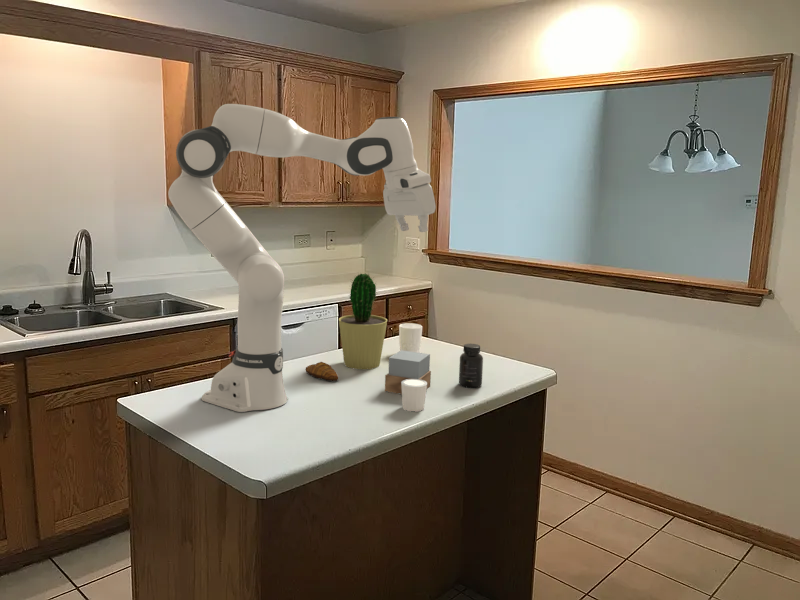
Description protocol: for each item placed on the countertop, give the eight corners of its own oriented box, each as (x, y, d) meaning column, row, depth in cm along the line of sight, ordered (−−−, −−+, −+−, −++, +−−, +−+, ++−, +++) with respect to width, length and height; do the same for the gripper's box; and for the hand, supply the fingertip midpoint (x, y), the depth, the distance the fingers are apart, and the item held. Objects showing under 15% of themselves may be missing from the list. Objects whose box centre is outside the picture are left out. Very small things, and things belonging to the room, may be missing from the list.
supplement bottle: (459, 380, 196) (461, 341, 194) (482, 382, 195) (484, 343, 193) (457, 387, 190) (459, 347, 187) (480, 389, 188) (483, 349, 186)
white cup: (413, 358, 218) (414, 329, 216) (393, 354, 222) (394, 326, 220) (425, 353, 224) (426, 325, 223) (406, 350, 229) (407, 322, 227)
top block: (388, 374, 184) (388, 357, 183) (400, 366, 192) (401, 350, 191) (418, 379, 180) (419, 361, 179) (429, 370, 188) (430, 354, 188)
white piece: (424, 413, 167) (425, 387, 166) (397, 410, 169) (398, 385, 167) (428, 404, 174) (429, 379, 173) (403, 402, 175) (403, 377, 174)
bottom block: (384, 392, 184) (385, 375, 183) (398, 382, 193) (398, 366, 192) (418, 397, 180) (418, 380, 179) (430, 387, 189) (430, 370, 188)
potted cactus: (372, 374, 199) (374, 277, 194) (328, 366, 206) (330, 272, 200) (394, 362, 213) (397, 271, 207) (353, 355, 219) (355, 267, 214)
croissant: (297, 375, 197) (297, 359, 196) (314, 370, 202) (315, 355, 201) (327, 385, 188) (328, 368, 187) (345, 380, 193) (345, 364, 192)
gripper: (373, 183, 177) (385, 233, 180) (413, 181, 159) (424, 235, 163) (393, 178, 179) (404, 226, 183) (434, 175, 162) (445, 228, 166)
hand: (414, 231), depth 173 cm, fingers open, 8 cm apart
